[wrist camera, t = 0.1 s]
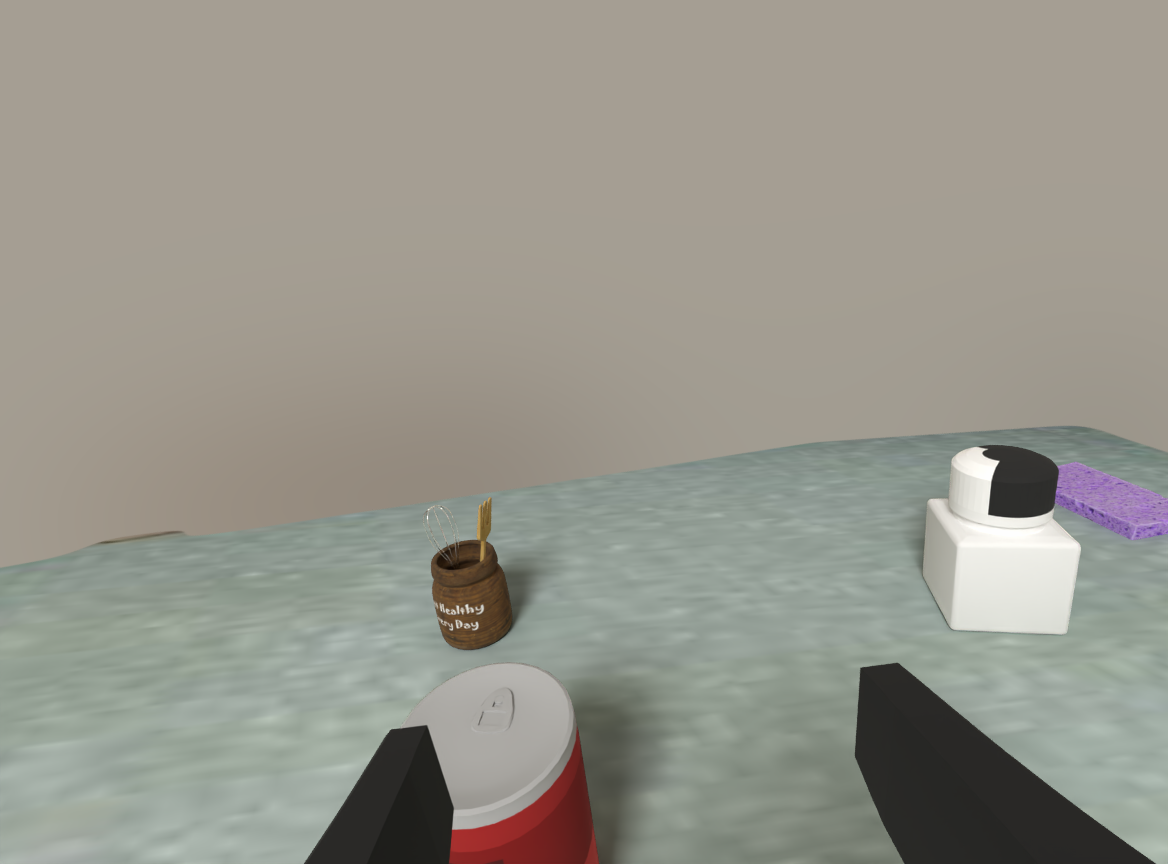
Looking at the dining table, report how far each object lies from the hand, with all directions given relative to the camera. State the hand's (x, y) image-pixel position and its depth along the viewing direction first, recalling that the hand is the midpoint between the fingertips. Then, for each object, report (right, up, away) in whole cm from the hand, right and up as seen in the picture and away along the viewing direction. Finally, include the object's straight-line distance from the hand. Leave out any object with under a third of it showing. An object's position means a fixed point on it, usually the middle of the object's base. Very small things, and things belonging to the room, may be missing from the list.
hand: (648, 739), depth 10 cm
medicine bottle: (+29, -8, +34) cm, 46 cm away
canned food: (-4, -18, +18) cm, 26 cm away
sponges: (+48, -2, +46) cm, 66 cm away
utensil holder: (-10, -11, +39) cm, 42 cm away
